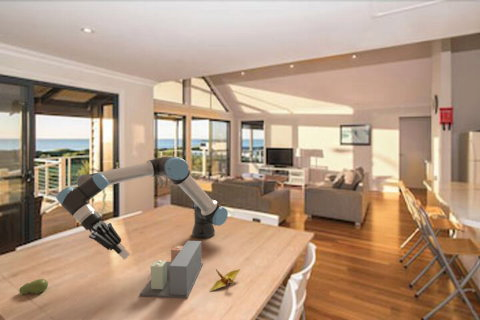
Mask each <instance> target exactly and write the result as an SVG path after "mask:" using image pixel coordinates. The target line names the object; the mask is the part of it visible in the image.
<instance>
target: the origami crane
mask: <svg viewBox="0 0 480 320" xmlns="http://www.w3.org/2000/svg"><path fill="white" fill-rule="evenodd" d="M215 271H216V272H217V275H218V277H219V278H220V279H218V280H216V282H215V283H214V285H213V286H212V287H211V288H210V290H209V293H210V292H213V291H215V290H218V289H220V288H222V287H226V286H231V284H234V283H235V282H234V280H235V279H236V277H237V276H238V274H239V272H240V271H241V268H237V269H234V270H231V271H229V272H227V273H226V274H225V275H224V276H223V274H222V273H221V272H220V270H218V269H217V268H215Z"/></svg>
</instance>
